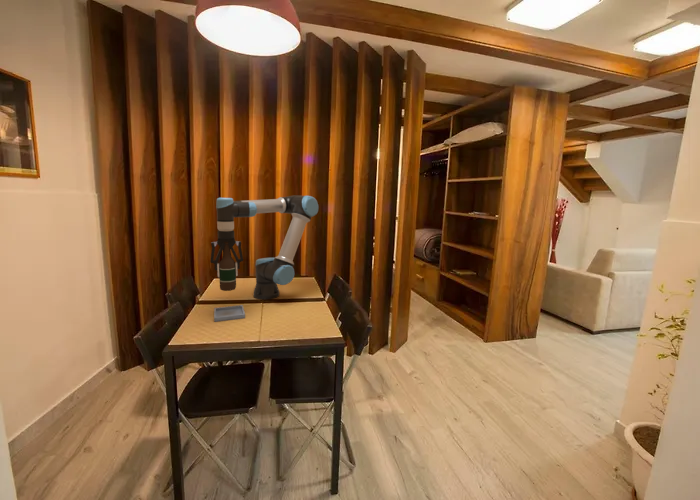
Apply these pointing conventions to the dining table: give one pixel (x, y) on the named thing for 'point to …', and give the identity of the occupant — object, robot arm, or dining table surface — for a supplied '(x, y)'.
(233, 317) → the tray
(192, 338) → the dining table surface
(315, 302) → the dining table surface
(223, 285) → the beer bottle
